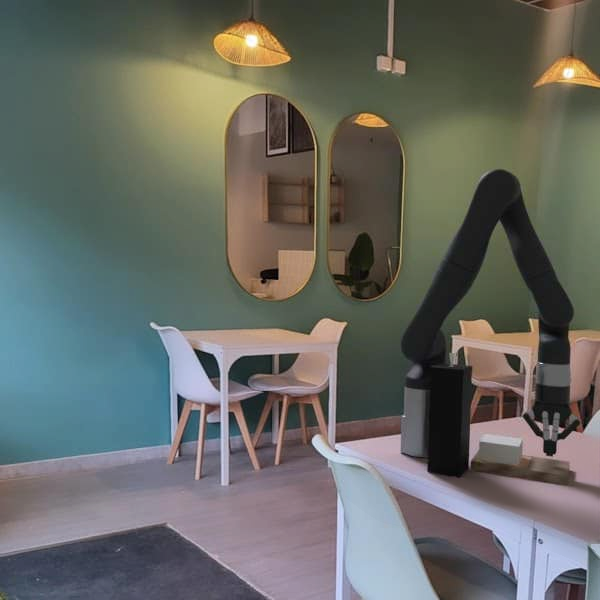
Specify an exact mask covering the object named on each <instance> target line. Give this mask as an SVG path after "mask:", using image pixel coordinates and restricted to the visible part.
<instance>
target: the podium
mask: <svg viewBox="0 0 600 600" xmlns="http://www.w3.org/2000/svg"><path fill="white" fill-rule="evenodd" d="M470 470H471V471H478V472H484V473H491V474H497V475H503V476H511V477H515V478H522V479H529V480H536V481H543V482H548V483H554V484H561V485H565V486H566V485H568V482H569V476H570V475H569V474H570V461H567V460H559V459H552V458H546V457H538V456H532V455H524V454H522V459H521V461H520V464H519V466H516V465H509V464H503V463H496V462H489V461H483V460H479V450H477V452H476V453H475V455H474V456H473V457H472V459H471V460H470Z"/></svg>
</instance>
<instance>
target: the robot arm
mask: <svg viewBox="0 0 600 600" xmlns="http://www.w3.org/2000/svg"><path fill="white" fill-rule="evenodd" d="M499 222H500V223H501V225H502V228H503V230H504V232H505V234H506V237H507V239H508V243H509V246H510V249H511V252H512V256H513V258H514V259H513V260H514V263H515V264H516V267H517V268H518V271H519V274H520V275H521V278H522V279H523V282H524V283H525V286H526V288H527V289H528V290H529V291H530V293H531V294H532V297H533V300H534V302H535V304H536V307H537V308H538V309H537V310H538V314H537V317H538V319H537V322H538V323H537V325H538V326H537V327H538V337H539V338H538V347H537V364H536V370H535V386H534V387H535V389H534V390H535V391H534V402H533V405H532V407H531V409H530V410H529V411H524V413H523V415H522V418H523V420H524V421H525V422H526V423H527V425H528V427H529V428H530V430H532V432H533V433H534V434H535V435H534V436H536V437H539V438H541V439H542V440H543V444H542V448H543V449H542V451H543V454H545V456H546V457H551V458H553V457H554V455H556V454H557V446H558V441H559V440H560V441H561V440H562V441H564V440H565V439H566V438H568V436H569V435H570V434H572V433H573V432H574V430H576V428H578V427H579V425H581V419H580V418H579V417H576V415H574V414H573V413H572V409H571V406H570V403H571V382H572V378H571V377H572V376H571V375H572V372H571V351H572V350H571V347H572V346H571V342H570V337H569V332H570V330H569V329H570V323H571V322H572V320H573V319H574V315H575V309H574V306H573V304H572V302H571V300H570V297H569V296H568V294H567V292H566V291H565V288H564V287H563V286H562V283H561V282H560V281H559V279H558V276H557V274H556V271H555V269H554V266H553V264H552V262H551V260H550V258H549V256H548V254H547V251H546V250H545V248H544V246H543V244H542V242H541V240H540V239H539V236H538V234H537V232H536V230H535V228H534V226H533V224H532V221H531V219H530V216H529V213H528V211H527V208H526V205H525V201H524V198H523V193H522V189H521V183H520V180H519V179H518V177H517V176H516V175H515V174H513V173H512V172H510V171H508V170H506V169H502V168H495V169H490V170H489V171H487V172H485V173H484V174H483V175H482V176H481V177H480V178H479V180H478V182H477V184H476V187H475V190H474V193H473V196H472V199H471V201H470V203H469V206H468V208H467V211H466V214H465V216H464V219H463V221H462V222H461V225H460V226H459V228H458V230H457V232H456V233H455V235H454V237H453V238H452V240H451V242H450V245H448V248H447V250H446V252H445V254H444V255H443V257H442V259H441V261H440V264H439V266H438V268H437V270H436V272H435V275H434V276H433V279H432V281H431V283H430V285H429V287H428V289H427V291H426V294H425V296H424V297H423V300H422V302H421V304H420V306H419V307H418V309H417V311H416V313H415V314H414V315H413V318H412V319H411V321H410V322H409V324H408V326H406V329H405V330H404V332H403V334H402V337H401V338H400V339H401V340H400V348H401V349H400V350H401V352H402V355H403V356H404V357H405V358H406V359H407V360H409V361H410V362H412V363H411V367H410V369H409V370H408V372H407V373H406V374H405V377H404V397H403V398H404V402H403V405H404V407H403V408H404V409H403V415H401V419H400V421H401V422H400V424H401V425H400V453H402V454H406V455H408V456H411V457H416V458H428V432H429V398H430V366H433V365H436V364H439V363H445V364H446V356H447V341H446V337H445V334H444V332H443V331H442V329H441V328H442V326H443V324H444V322H445V320H446V319H447V317H448V316H449V315H450V313H451V312H452V311H453V310H454V309H455V308H456V306H457V305H459V303H460V302H461V301H462V300H463V299H464V297H466V296H467V294H468V292H469V291H470V290H471V288H472V287H473V284H474V282H475V280H476V279H477V277H478V275H479V273H480V270H481V269H482V266H483V264H484V260H485V257H486V254H487V252H488V246H489V243H490V239H491V237H492V234H493V232H494V230H495V228H496V226H497V225H498V223H499ZM535 417H536V419H537V420H538V421H539V423H540V424H541V425H542V429H541V428H540V427H539V425H538V424H537V422H536V421H535ZM567 420H568V425H567V426H566V427H565V428H564V429H563V430H562V431H561V432H559V427H561V426H562V425H564V424H565V422H566V421H567ZM550 426H552V431H551V430H550ZM550 431H551V434H550ZM550 436H551V437H550Z"/></svg>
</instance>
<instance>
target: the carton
mask: <svg viewBox="0 0 600 600" xmlns="http://www.w3.org/2000/svg"><path fill="white" fill-rule="evenodd" d="M478 442H479V443H478V444H479V445H478V451H479V460H483V461H489V462H496V463H503V464H509V465H516V466H519V464H520V461H521V459H522V455H523V449H524V448H523V447H524V446H523V445H524V439H523V438H520V437H519V438H517V437H510V436H503V435H496V434H495V435H494V434H488V433H487V434H486V433H485V434H484V435H483V436H482V437H481V439H480V440H479V441H478Z"/></svg>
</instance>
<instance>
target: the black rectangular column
mask: <svg viewBox="0 0 600 600" xmlns="http://www.w3.org/2000/svg"><path fill="white" fill-rule="evenodd" d="M455 354H456V353H455V352H454V353H453V352H449V363H446V362H445V363H439V364H436V365H433V366H430V398H429V432H428V457H427V468H426V469H427V470H426V471H427V472H429V473H433V474H434V473H435V474H440V475H444V476H450V477H454V478H457V477H458V478H461V477H462V476H463V475H464V473H466V472H467V471H468V470H469V468H470V467H469V466H470V444H471V442H470V441H471V438H470V436H471V412H472V411H471V410H472V409H471V407H472V376H473V365H465V364H456V363H455V358H456V357H455V356H456V355H455Z"/></svg>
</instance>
